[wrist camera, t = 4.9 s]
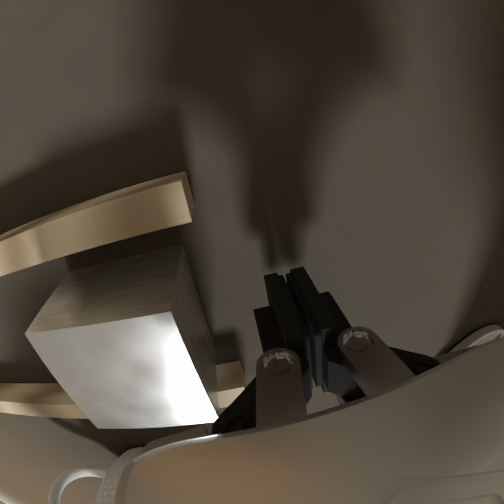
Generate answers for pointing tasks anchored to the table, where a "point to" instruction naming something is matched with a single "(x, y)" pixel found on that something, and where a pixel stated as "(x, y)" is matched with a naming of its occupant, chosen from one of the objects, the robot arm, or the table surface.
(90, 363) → the block
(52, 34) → the table surface
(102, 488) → the mug
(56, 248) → the u-shaped frame
